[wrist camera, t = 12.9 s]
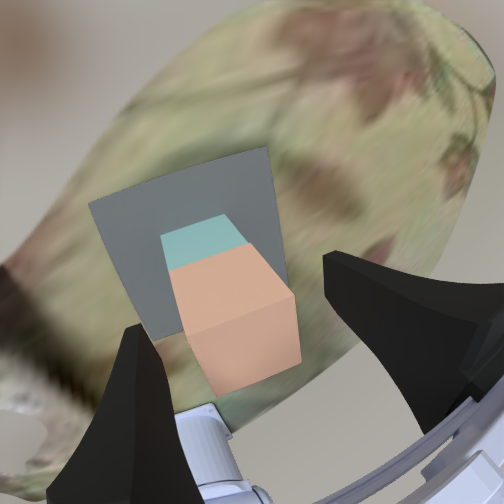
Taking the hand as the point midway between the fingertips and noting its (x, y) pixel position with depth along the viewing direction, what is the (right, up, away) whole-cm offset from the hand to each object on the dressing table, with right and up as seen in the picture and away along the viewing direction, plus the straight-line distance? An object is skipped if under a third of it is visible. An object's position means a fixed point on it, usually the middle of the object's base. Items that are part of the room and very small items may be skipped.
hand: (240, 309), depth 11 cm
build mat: (-3, +2, +10) cm, 11 cm away
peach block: (-1, 0, +6) cm, 6 cm away
